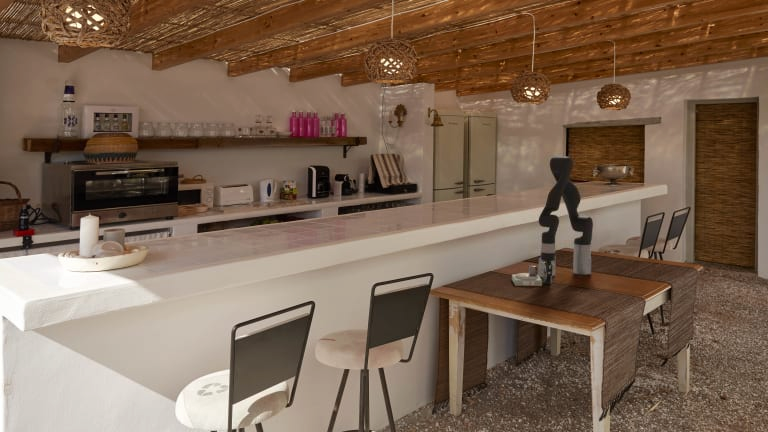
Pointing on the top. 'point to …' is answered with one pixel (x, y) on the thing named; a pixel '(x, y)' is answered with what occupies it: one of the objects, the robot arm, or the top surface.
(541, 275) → the light bulb box
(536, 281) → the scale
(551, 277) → the spacer
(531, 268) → the spacer
